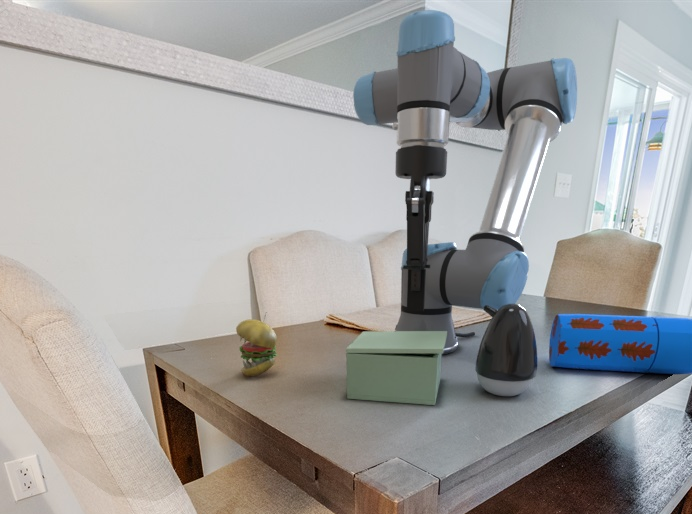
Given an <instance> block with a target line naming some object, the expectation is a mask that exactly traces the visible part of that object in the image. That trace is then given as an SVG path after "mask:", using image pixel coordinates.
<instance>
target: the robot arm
mask: <svg viewBox="0 0 692 514" xmlns="http://www.w3.org/2000/svg"><path fill="white" fill-rule="evenodd" d="M397 41H398V42H397V51H396V57H397V67H396V68H392V69H386V70H381V71H373V72H371V73H368V74H365V75H362V76H360V77H359V78H358V79H357V80H356V82H355V85H354V86H353V87H354V88H353V93H352V94H353V95H352V97H353V107H354V111H355V113H356V116H357V118H358V119H359V121H360V122H361V123H363V124H364V125H366V126H382V125H386V124H392V129H393V130H394V131H396V145H397V146H399V148H397V150H396V151H395V176H396V178H399V179H404V180H410V182H409V190H405V195H404V196H405V199H404V202H405V205H406V217H405V219H406V248H405V249H404V251H403V253H402V259H401V267H400V270H401V279H400V280H401V281H400V282H401V283H400V284H401V286H400V315H399V318H398V321H397V324H396V325H395V328H394V331H447V338H446V343H445V347H444V352H443V354H442V355H447V354H451V353H453V352H456V350H457V349H458V338H470V337H474V336H475V335H476V333H475V332H474V331H472V332H471V331H470V332H468V333H463V332H456V329H455V324H454V320H453V316H452V313H453V306H455V307H463V308H464V307H465V308H470V309H471V308H472V309H479V310H483V308H484V306H485V305H488V306H490V307H492V308H494V309H496V310H498V309H499V308H501V307H502V306H504V305H506V304H517V302H518V301H519V299H520V297H521V295H522V294H523V292H524V289H525V288H526V287H525V286H526V283H527V280H528V273H529V267H530V261H529V257H528V256H527V254H526V253H525V247H524V245H523V244H522V243H521V241H520V240H521V237H522V234H523V232H524V231H523V230H524V227H525V224H526V221H527V216H528V214H529V210H530V206H531V204H532V200H533V197H534V193H535V190H536V187H537V183H538V180H539V177H540V173H541V170H542V166H543V163H544V160H545V156H546V153H547V150H548V146H549V143H551V142H553V141H554V140H555V139H556V138H557V137H558V136H559V134H560V132H561V128H562V125H563V124H564V125H567V124H569V123H572V122H573V121H574V119H575V117H576V112H577V105H578V79H577V70H576V65H575V64H574V61H573V60H572V59H571V58H568V57H562V58H550V59H549V60H544V61H539V62H533V63H528V64H523V65H517V66H511V67H504V68H500V69H495V70H493V71H488V72H487V71H486V70H485V69H484V67H482V66H481V65H480V63H479V62H478V60H475V59H473V58H471V57H469V56H468V55H466V54H464V53H463V52H461V51H459V50H458V49H457V48H456V47H455V45H454V43H455V41H456V36H455V23H454V19H453V17H452V16H451V15H450V14H448V13H446V12H445V11H441V10H435V9H425V10H418V11H415V12H412V13H410V14H408V15H406V16H405V17H404V18H403V19H402V20H401V22H400V24H399V29H398V40H397ZM450 123H455V124H456V125H458V126H460V127H462V128H471V129H480V130H481V129H482V130H488V131H489V130H490V131H504V130H505V132H506V134H507V137H506V141H505V145H504V148H503V151H502V154H501V157H500V161H499V164H498V167H497V171H496V174H495V177H494V180H493V184H492V188H491V190H490V193H489V197H488V200H487V204H486V207H485V211H484V214H483V217H482V220H481V224H480V227H479V230H478V231H476V232H475V233H473V234H471V235H470V237H469V239H468V242H467V244H466V248H465V249H457V248H458V246H457V244H456V242H455V241H454V242H453V241H451V242H449V241H448V242H440V243H430V244H429V237H430V236H429V233H430V222H431V221H432V208H433V205H434V200H435V199H434V198H435V193H434V191H433V190H430V186H431V185H430V180H438V179H443V178H445V177H446V175H447V168H448V165H447V164H448V150H447V148H445V147H446V146H447V145H448V144H449V138H450V137H449V136H450Z"/></svg>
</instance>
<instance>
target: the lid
mask: <svg viewBox="0 0 692 514" xmlns="http://www.w3.org/2000/svg"><path fill="white" fill-rule="evenodd" d="M446 338H447V331H395V330H379V331H378V330H375V331H374V330H370V331H369V330H367V331H366V330H365V331H361V333H360V334H359V335H358V336H357V337H356V338H355V339H354V340H352V342H351V343H350V344H349V345H348V346H347V347H346V351H345V352H346V353H436V354H442V355H444V354H443V352H444V347H445V343H446ZM346 353H345V354H346Z"/></svg>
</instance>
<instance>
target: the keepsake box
mask: <svg viewBox="0 0 692 514" xmlns="http://www.w3.org/2000/svg"><path fill="white" fill-rule="evenodd" d="M442 356H443V354H436V353H345V357H346V359H345V360H346V398H347V399H348V400H361V401H373V402H374V401H375V402H387V403H398V404H399V403H400V404H412V405H425V406H427V405H428V406H436V402H437V397H438V394H439V393H438V392H439V388H440V382H441V374H442V373H441V370H442Z"/></svg>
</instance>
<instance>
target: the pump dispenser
mask: <svg viewBox="0 0 692 514" xmlns="http://www.w3.org/2000/svg"><path fill="white" fill-rule="evenodd" d="M482 310H483V311H484V312H485V313H486V314H488V315H489V316H490V317H491V319H490V321H489V323H488V324H487V326H486V329H485V330H484V333H483V336H482V338H481V340H480V344H479V347H478V351H477V355H476V359H475V364H474V365H475V367H474V371H475V373H476V376H477V380H478V382H479V385H481V387H482V388H483V390H485V391H486V392H487V393H489V394H491V395H495V396H499V397H515V396H517V395H521V394H522V393H524V392H525V391H527V390H528V389H529V388H530V387H531V385H532V384H533V381H534V379H535V378H536V377H537V373H538V347H537V346H538V345H537V340H536V334H535V330H534V325H533V323H532V320H531V317H530V315H529V313H528V311H527V310H526V309H525V308H524V307H523V306H521V305H520V304H518V303H515V304H506V305H504V306H502V307H501V308H499V309H498V310H496V309H494V308H492V307H490V306H488V305H485V306H484V308H483V309H482Z"/></svg>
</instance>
